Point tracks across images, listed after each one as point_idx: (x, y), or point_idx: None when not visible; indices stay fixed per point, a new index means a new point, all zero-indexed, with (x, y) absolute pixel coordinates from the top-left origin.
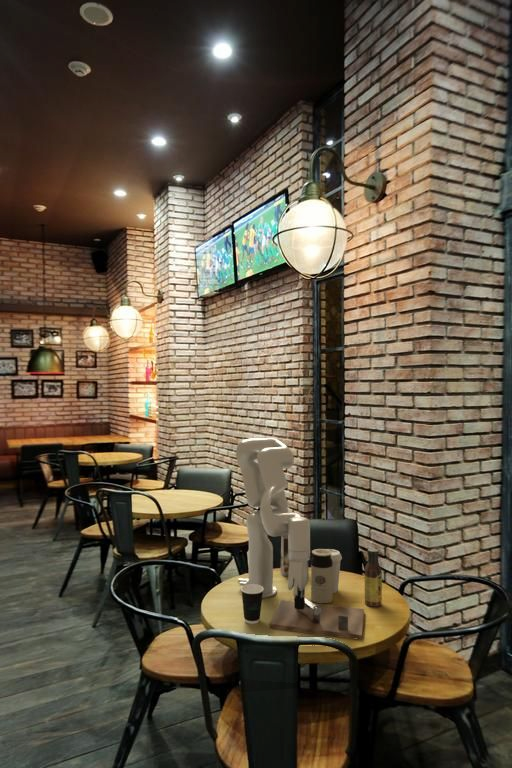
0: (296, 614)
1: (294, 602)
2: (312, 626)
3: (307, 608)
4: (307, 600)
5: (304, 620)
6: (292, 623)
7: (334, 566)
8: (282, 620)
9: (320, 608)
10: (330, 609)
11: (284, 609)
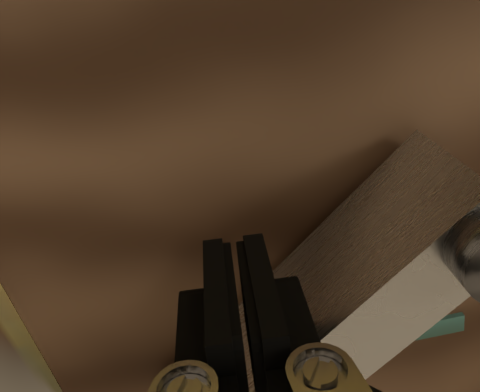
0: (259, 189)
1: (203, 282)
2: (102, 376)
3: (246, 363)
4: (367, 366)
5: (173, 293)
6: (45, 230)
7: None
8: (36, 115)
9: (462, 324)
10: (470, 378)
11: (333, 10)
